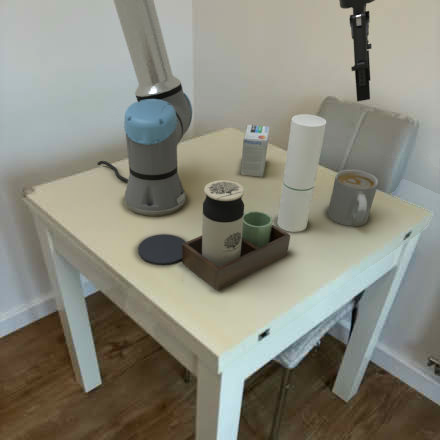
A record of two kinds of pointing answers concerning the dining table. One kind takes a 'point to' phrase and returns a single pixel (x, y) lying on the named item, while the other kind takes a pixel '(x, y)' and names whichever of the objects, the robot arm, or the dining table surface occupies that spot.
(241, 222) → the travel mug
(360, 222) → the coffee mug
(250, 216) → the sage cup
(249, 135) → the light bulb box
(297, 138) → the cylindrical container
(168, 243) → the slate coaster
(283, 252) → the cup holder
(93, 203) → the dining table surface
